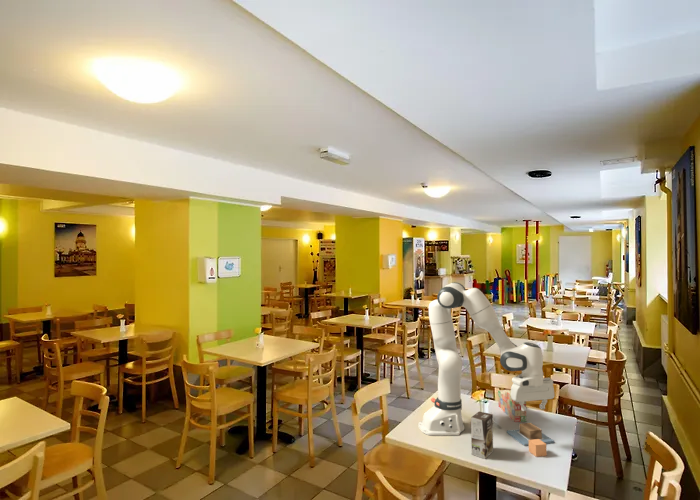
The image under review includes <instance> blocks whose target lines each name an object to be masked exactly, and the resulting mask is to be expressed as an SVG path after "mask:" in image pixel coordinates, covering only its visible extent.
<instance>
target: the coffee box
mask: <svg viewBox="0 0 700 500" xmlns="http://www.w3.org/2000/svg"><path fill="white" fill-rule="evenodd" d="M493 416H494V415H493V414H492V413H488V412H483V411H478V412H476V413H475V414H473V415H472V416H471V419H470V420H471V421H470V422H471V423H470V424H471V425H470V427H471V429H470V430H471V431H470V432H471V433H470V434H471V435H470V436H471V437H470V438H471V443H470V444H471V447H470V448H471V451H470V452H471V455H472V456H476V457H478V458H481V459H484V460H485V459H487V458H488V457H489V455H491V454H492V453H493V452H494V434H493V433H494V427H493V426H494V425H493V424H494V418H493Z"/></svg>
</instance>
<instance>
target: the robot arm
mask: <svg viewBox="0 0 700 500" xmlns="http://www.w3.org/2000/svg"><path fill="white" fill-rule="evenodd" d="M436 298H437V299H434V300H432V301H430V302H429V304H428V319H429V325H430V329H431V335H432V340H433V347H434V351H435V357H436V361H437V363H438V374H437V375H438V376H437V377H438V379H437V397H436V398H435V397H431V398H430V401H431V402H432V404H433V403H434V405H433V406H432V407H430V408H429V409H428V410H426V411H425V412H424V414H423V415H422V421H419V422H418V423H417V427H418V429H419V430H420V431H421V432H422V433H424V434H425V435H427V436H460V435H461V433H462V432H463V431H464V430H465V426H464V421H463V415H462V408H463V404H462V398H461V396H462V395H461V393H462V392H461V390H462V389H461V386H462V385H461V383H462V372H463V360H462V358H461V356H460V354H459V352H458V348H457V342H456V341H457V338H456V332H455V327H454V322H453V319H452V318H453V317H452V313H451V311H452V309H456V308H461V307H464V308H465V310H466V311H467V313H468V315H469V316H470V318H471V319H472V321H473V322H474V323H475V324H476V325H477V327H478V328H480V329H483V330H485V331H486V332H488V333H489V335H490V336H491V337H492V339H493V340H494V342H495V343H496V344H497V347H498V349H499V351H500V358H499V362H500V363H499V364H500V365H501V366H502V368H503V369H505V370H506V371H508V372H521V373H520V374H518V375H516V376H513V377H512V378H511V382H512V385H511V387H510V390H511V398H512V400H514V401H515V402H519V404H520V405H521V410H522V411H526V412H527V406H526V407H525V406H524V405H523V404H524V402H525V401H526V402H533V401H541V403H540V404H539V409H541V410H545V409H546V405H547V403H548V400H553V399H554V397H555V396H556V395H555V389H554V380H553V379H552V378H550V377H544V372H543V365H544V358H543V357H544V356H543V351H542V348H541V346H540V345H538V344H536V343H534V342H529V341H528V342H523V343H522V344H520V345H517V344H516V343H514V342H513V341H512V340H511V339H510V338H509V336H508V335H507V334H506V332H505V330H504V328H503V327H502V325H501V323H500V321H499V318H498V315H497V313H496V311H495V309H494V307H493V305H492V304H491V302H490V300H489V299H488V298H487V296H486V295H485V294H484V293H483V292H482V291H481V290H480V289H479V288H477V287H472V288H468V289H466V287H465V286H464V285H463V284H461V283H459V282H455V281H454V282H451V283H448V284H446V285H444V287H441V288H440V289H439V291H438V293H437V297H436Z"/></svg>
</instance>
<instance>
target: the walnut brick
mask: <svg viewBox="0 0 700 500" xmlns="http://www.w3.org/2000/svg"><path fill="white" fill-rule="evenodd" d="M519 429H520V433H521V434H523V435H524V436H525V437H527V438H528V439H530V440H533V439H542V433H543V432H542V429H541V428H540V427H538V426H537V425H535V424H533V422H525V423H519Z"/></svg>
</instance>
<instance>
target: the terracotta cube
mask: <svg viewBox="0 0 700 500" xmlns="http://www.w3.org/2000/svg"><path fill="white" fill-rule="evenodd" d="M528 452H529V453H530V454H531V455H533V456H534V457H536V458H537V457H538V458H539V457H547V444H545V443H544V442H543V441H541V440H540V439H533V440H529V446H528Z"/></svg>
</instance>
